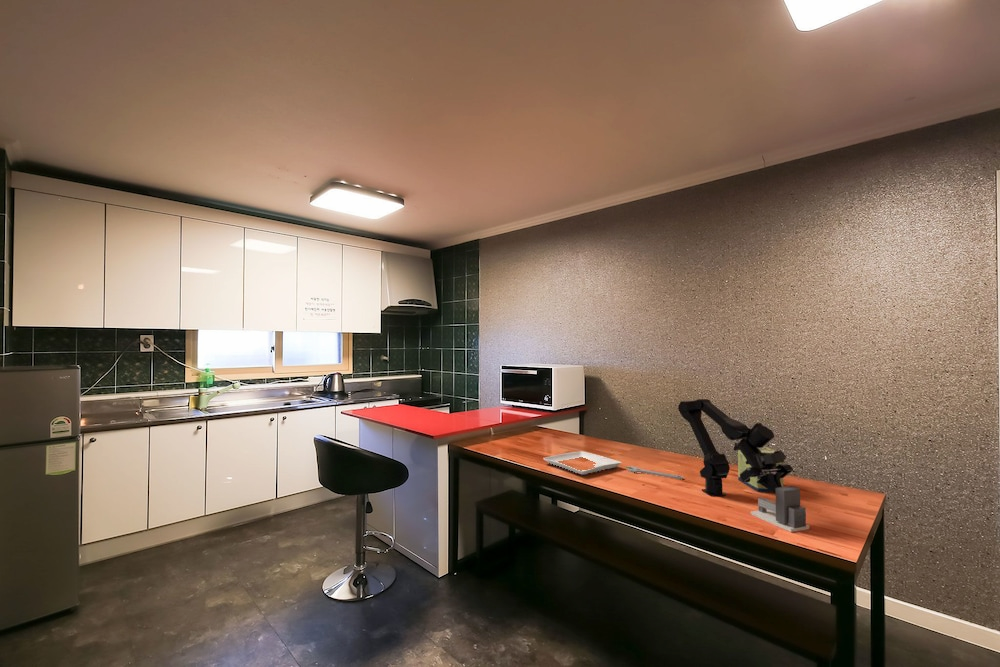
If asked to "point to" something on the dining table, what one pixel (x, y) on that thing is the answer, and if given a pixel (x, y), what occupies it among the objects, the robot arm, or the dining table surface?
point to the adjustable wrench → (652, 472)
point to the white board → (771, 518)
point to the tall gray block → (786, 501)
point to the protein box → (743, 466)
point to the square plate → (600, 461)
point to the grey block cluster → (794, 512)
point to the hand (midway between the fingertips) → (782, 496)
